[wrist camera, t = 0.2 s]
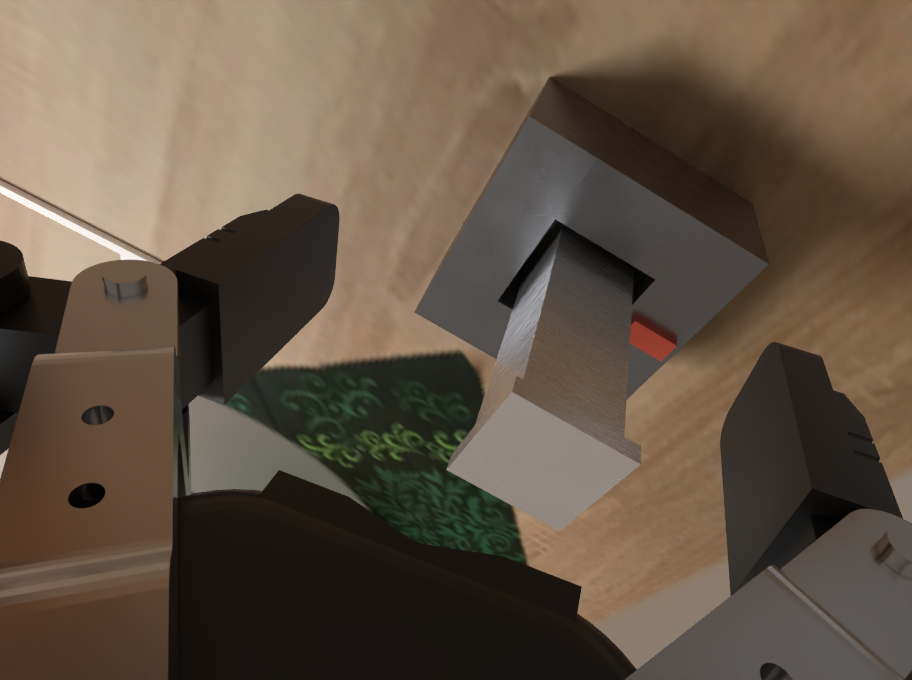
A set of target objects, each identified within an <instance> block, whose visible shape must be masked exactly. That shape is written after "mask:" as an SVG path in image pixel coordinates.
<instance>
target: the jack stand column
mask: <svg viewBox="0 0 912 680" xmlns="http://www.w3.org/2000/svg"><path fill="white" fill-rule="evenodd" d="M529 256H530V257H529V260H528V264H527V267H526V270H525V273H524V276H523V279H522V282H521V285H520V288H519V291H518V294H517V298H516V301H515V304H514V307H513V310H512V313H511V316H510V319H509V322H508V325H507V328H506V332H505V335H504V338H503V341H502V344H501V347H500V350H499V353H498V356H497V359H496V362H495V366H494V369H493V372H492V375H491V378H490V381H489V384H488V387H487V390H486V393H485V396H484V400H483V403H482V406H481V409H480V412H479V415H478V418H477V421H476V424H475V426H474V428H473V429H472V430H471V431H470V432H469V434H468V435H467V436H466V437H465V438H464V440H463V441H462V442H461V443H460V445H459V446H458V447H457V448H456V449H455V451H454V452H453V453H452V455H451V458H450V461H449V464H448V467H447V470H448V471H450V472H452V473H453V474H455V475H457V476H459V477H461V478H463V479H464V480H466V481H468V482H470V483H472V484H474V485H475V486H477V487H479V488H481V489H483V490H485V491H486V492H488V493H490V494H492V495H494V496H496V497H497V498H499V499H501V500H503V501H505V502H507V503H509V504H510V505H512V506H514V507H516V508H518V509H520V510H521V511H523V512H525V513H527V514H529V515H531V516H532V517H534V518H536V519H538V520H540V521H542V522H543V523H545V524H547V525H549V526H551V527H553V528H554V529H556V530H558V531H560V530H561V529H563V528H564V527H565V526H566V525H567V524H569V523H570V522H571V521H572V520H574V519H575V518H576V517H577V516H578V515H580V514H581V513H582V512H583V511H584V510H586V509H587V508H588V507H589V506H591V505H592V504H593V503H594V502H595V501H597V500H598V499H599V498H600V497H602V496H603V495H604V494H605V493H606V492H608V491H609V490H610V489H611V488H613V487H614V486H615V485H616V484H617V483H619V482H620V481H621V480H622V479H623V478H625V477H626V476H627V475H628V474H630V473H631V472H632V471H633V470H634V469H636V468H637V467H638V466H639V465H641V446H640V445H638V444H636V443H634V442H633V441H631V440H629V439H627V438H625V437H624V431H625V414H626V397H627V380H628V363H629V346H630V329H631V313H632V296H633V279H634V266H632V265H630V264H629V263H627V262H625V261H624V260H622V259H620V258H619V257H617V256H615V255H614V254H612V253H610V252H609V251H607V250H605V249H604V248H602V247H600V246H599V245H597V244H595V243H594V242H592V241H590V240H589V239H587V238H585V237H584V236H582V235H581V234H579V233H577V232H576V231H574V230H572V229H571V228H569V227H567V226H566V225H564V224H562V223H561V222H559V221H557V220H556V219H555V220H554V221H553V223H552V224H551V226H550V227H549V228H548V230H547V231H546V233H545V234H544V235H543V237H542V238H541V240H540V241H539V243H538V244H537V245H536V247H535V248H534V250H533V251H532V253H531V254H530V255H529Z"/></svg>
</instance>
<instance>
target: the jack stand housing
mask: <svg viewBox="0 0 912 680" xmlns="http://www.w3.org/2000/svg"><path fill="white" fill-rule="evenodd" d="M555 219H556V220H557V221H559V222H561V223H562V224H564V225H566V226H567V227H569V228H571V229H572V230H574V231H576V232H577V233H579V234H581V235H582V236H584V237H585V238H587V239H589V240H590V241H592V242H594V243H595V244H597V245H599V246H600V247H602V248H604V249H605V250H607V251H609V252H610V253H612V254H614V255H615V256H617V257H619V258H620V259H622V260H624V261H625V262H627V263H629V264H630V265H632V266H634V279H633V296H632V313H631V329H630V346H629V363H628V380H627V397H626V400H627V399H628V398H629V397H630V396H631V395H632V394H633V393H634V392H635V391H636V390H637V389H638V388H639V387H640V386H641V385H642V384H644V383H645V382H646V381H647V380H648V379H649V378H650V377H651V376H652V375H653V374H654V373H655V372H656V371H657V370H658V369H659V368H660V367H661V366H662V365H664V364H665V363H666V362H667V361H668V360H669V359H670V358H671V357H672V356H673V355H674V354H675V353H676V352H677V351H678V350H679V349H680V348H681V347H683V346H684V345H685V344H686V343H687V342H688V341H689V340H690V339H691V338H692V337H693V336H694V335H695V334H696V333H697V332H698V331H699V330H700V329H701V328H703V327H704V326H705V325H706V324H707V323H708V322H709V321H710V320H711V319H712V318H713V317H714V316H715V315H716V314H717V313H718V312H719V311H720V310H722V309H723V308H724V307H725V306H726V305H727V304H728V303H729V302H730V301H731V300H732V299H733V298H734V297H735V296H736V295H737V294H738V293H739V292H740V291H742V290H743V289H744V288H745V287H746V286H747V285H748V284H749V283H750V282H751V281H752V280H753V279H754V278H755V277H756V276H757V275H758V274H759V273H761V272H762V271H763V270H764V269H765V268H766V267H767V266H768V265H769V262H768V258H767V255H766V251H765V247H764V244H763V240H762V236H761V233H760V229H759V225H758V222H757V218H756V215H755V211H754V207H753V205H752V204H751V203H749V202H748V201H746V200H745V199H743V198H741V197H740V196H738V195H737V194H735V193H733V192H732V191H730V190H729V189H727V188H725V187H724V186H722V185H721V184H719V183H717V182H716V181H714V180H713V179H711V178H709V177H708V176H706V175H705V174H703V173H701V172H700V171H698V170H697V169H695V168H694V167H692V166H690V165H689V164H687V163H686V162H684V161H682V160H681V159H679V158H678V157H676V156H674V155H673V154H671V153H670V152H668V151H666V150H665V149H663V148H662V147H660V146H658V145H657V144H655V143H654V142H652V141H651V140H649V139H647V138H646V137H644V136H643V135H641V134H639V133H638V132H636V131H635V130H633V129H631V128H630V127H628V126H627V125H625V124H623V123H622V122H620V121H619V120H617V119H615V118H614V117H612V116H611V115H609V114H607V113H606V112H604V111H603V110H601V109H600V108H598V107H596V106H595V105H593V104H592V103H590V102H588V101H587V100H585V99H584V98H582V97H580V96H579V95H577V94H576V93H574V92H572V91H571V90H569V89H568V88H566V87H564V86H563V85H561V84H560V83H558V82H556V81H555V80H553V79H552V78H550V77H549V79H548V80H547V82H546V84H545V85H544V87H543V89H542V91H541V92H540V94H539V96H538V97H537V99H536V101H535V103H534V104H533V106H532V108H531V109H530V111H529V113H528V114H527V116H526V118H525V120H524V121H523V123H522V125H521V126H520V128H519V130H518V132H517V133H516V135H515V137H514V138H513V140H512V142H511V144H510V145H509V147H508V149H507V150H506V152H505V154H504V155H503V157H502V159H501V161H500V162H499V164H498V166H497V167H496V169H495V171H494V173H493V174H492V176H491V178H490V179H489V181H488V183H487V185H486V186H485V188H484V190H483V191H482V193H481V195H480V196H479V198H478V200H477V202H476V203H475V205H474V207H473V208H472V210H471V212H470V214H469V215H468V217H467V219H466V220H465V222H464V224H463V226H462V227H461V229H460V231H459V232H458V234H457V236H456V237H455V239H454V241H453V243H452V244H451V246H450V248H449V249H448V251H447V253H446V255H445V256H444V258H443V260H442V262H441V264H440V266H439V267H438V269H437V271H436V273H435V275H434V277H433V279H432V280H431V282H430V284H429V286H428V288H427V290H426V291H425V293H424V295H423V297H422V299H421V301H420V303H419V304H418V306H417V308H416V310H415V313H417V314H418V315H420V316H422V317H424V318H425V319H427V320H429V321H431V322H432V323H434V324H436V325H438V326H439V327H441V328H443V329H445V330H446V331H448V332H450V333H452V334H453V335H455V336H457V337H459V338H460V339H462V340H464V341H466V342H468V343H469V344H471V345H473V346H475V347H476V348H478V349H480V350H482V351H483V352H485V353H487V354H489V355H490V356H492V357H494V358H496V359H497V356H498V353H499V350H500V347H501V344H502V341H503V338H504V335H505V332H506V328H507V325H508V322H509V319H510V316H511V313H512V310H513V307H514V304H515V301H516V298H517V294H518V291H519V288H520V285H521V282H522V279H523V276H524V273H525V270H526V267H527V264H528V260H529V257H530V256H529V255H530V254H531V253H532V251H533V250H534V248H535V247H536V245H537V244H538V243H539V241H540V240H541V238H542V237H543V235H544V234H545V233H546V231H547V230H548V228H549V227H550V226H551V224H552V223H553V221H554V220H555Z"/></svg>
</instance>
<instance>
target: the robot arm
mask: <svg viewBox="0 0 912 680" xmlns="http://www.w3.org/2000/svg"><path fill="white" fill-rule="evenodd" d="M338 230H339V211H338V208H337V206H336V205H334V204H331V203H327V202H324V201H321V200H318V199H315V198H311V197H308V196H305V195H302V194H295V195H293V196H292V197H290V198H289V199H287V200H285V201H284V202H282V203H281V204H279V205H277V206H276V207H274V208H273V209H271V210H269V211H268V210H263V211H259V212H255V213H251V214H247V215H243V216H240V217H238V218H236V219H235V220H233V221H231V222H230V223H228V224H226V225H225V226H223V227H222V229H221V230H219V229H218V230H216V231H214V232H213V233H211V234H209V235H208V236H207V238H206V239H204V238H203V239H201V240H199V241H198V242H196V243H194V244H193V245H191V246H189V247H188V248H186V249H184V250H183V251H181V252H179V253H178V254H176V255H174V256H173V257H171V258H169V259H168V260H166V261H164V262H162V263H161V264H157V263H154V262H149V261H143V260H116V261H109V262H104V263H100V264H97V265H94V266H92V267H89V268H87V269H85V270H84V271H82V272H80V273H79V274H78V275H77V276H76V277H75V278H74V279H73V281H72V282H70V281H62V280H54V279H46V278H38V277H30V276H28V275H27V270H26V266H25V262H24V258H23V254H22V253H21V251H20V250H19V249H18V248H17V247H15V246H14V245H12V244H9V243H7V242H3V241H0V455H1V454H2V453H3V452H5V451H6V450H7V449H8V448H9V450H8V453H7V457H6V460H5V464H4V468H3V471H2V475H1V479H0V680H912V523H910V522H908V521H906V520H904V519H903V518H902V515H901V512H900V510H899V507H898V504H897V502H896V499H895V496H894V494H893V491H892V488H891V486H890V483H889V481H888V478H887V475H886V473H885V470H884V468H883V465H882V463H879V460H880V457H879V454H878V452H877V449H876V447H875V444H872V441H873V439H872V436H871V433H870V431H869V428H868V426H867V423H866V420H865V418H864V416H863V415H862V414H861V413H860V412H859V411H858V410H857V408H856V407H855V406H854V405H853V404H852V403H851V401H850V400H849V399H848V398H847V397H846V396H845V395H844V394H843V393H840V392H836V391H833V389H832V386H831V383H830V380H829V377H828V374H827V371H826V368H825V365H824V362H823V359H822V357H821V356H819V355H816V354H812V353H809V352H806V351H803V350H799V349H796V348H793V347H790V346H787V345H783V344H780V343H777V342H772V343H771V344H769V345H768V346H767V347H766V349H765V350H764V351H763V353H762V355H761V356H760V358H759V360H758V361H757V363H756V365H755V367H754V368H753V370H752V372H751V374H750V375H749V377H748V379H747V380H746V382H745V384H744V386H743V387H742V389H741V391H740V393H739V394H738V396H737V398H736V400H735V401H734V403H733V405H732V406H731V408H730V410H729V412H728V414H727V417H726V419H725V422H724V425H723V429H722V433H721V440H720V447H721V462H722V476H723V491H724V505H725V520H726V534H727V548H728V563H729V577H730V592H731V596H730V597H729V598H728V599H727V600H725V601H724V602H723V603H722V604H720V605H719V606H718V607H716V608H715V609H714V610H713V611H711V612H710V613H709V614H708V615H706V616H705V617H704V618H702V619H701V620H700V621H699V622H697V623H696V624H695V625H693V626H692V627H691V628H690V629H688V630H687V631H686V632H685V633H683V634H682V635H681V636H679V637H678V638H677V639H676V640H675V641H673V642H672V643H671V644H669V645H668V646H667V647H666V648H664V649H663V650H662V651H660V652H659V653H658V654H657V655H655V656H654V657H653V658H652V659H650V660H649V661H648V662H646V663H645V664H644V665H643V666H641V667H640V668H639V669H636V668H635V667H634V666H633V665H632V663H631V662H630V661H629V660H628V658H627V657H626V656H625V655H624V654H623V653H622V651H621V650H620V649H619V648H618V647H617V646H616V645H615V644H614V643H613V642H612V641H611V640H610V639H609V638H608V637H607V636H606V635H604V634H603V633H602V632H601V631H600V630H598V629H597V628H596V627H595V626H594V625H592V624H591V623H590V622H589V621H587V620H586V619H584V618H583V617H582V616H580V615H579V614H577V611H578V605H579V599H580V593H581V586H578V585H576V584H573V583H571V582H568V581H565V580H563V579H560V578H558V577H555V576H552V575H550V574H547V573H545V572H542V571H539V570H537V569H534V568H532V567H529V566H526V565H524V564H521V563H519V562H516V561H513V560H511V559H508V558H506V557H503V556H497V555H491V554H484V553H478V552H471V551H464V550H458V549H451V548H445V547H438V546H432V545H425V544H421V543H418V542H415V541H413V540H412V539H410V538H408V537H407V536H405V535H404V534H402V533H401V532H399V531H398V530H397V529H395V528H394V527H392V526H391V525H389V524H388V523H386V522H385V521H383V520H382V519H380V518H379V517H377V516H376V515H375V514H373V513H372V512H370V511H369V510H367V509H366V508H364V507H363V506H361V505H360V504H358V503H357V502H355V501H354V500H352V499H351V498H350V497H347V496H345V495H342V494H340V493H337V492H334V491H332V490H329V489H327V488H324V487H322V486H319V485H316V484H314V483H311V482H308V481H306V480H303V479H301V478H298V477H296V476H293V475H290V474H288V473H285V472H282V471H280V470H279V471H278V472H277V473H276V475H275V476H274V477H273V479H272V480H271V481H270V482H269V484H268V485H267V486H266V487H265V489H264V490H263V491H258V490H241V489H238V490H237V489H231V490H214V491H208V492H201V493H195V494H191V467H190V466H191V465H190V464H191V463H190V419H189V418H190V417H189V406H188V404H189V403H190V402H191V401H192V400H193V399H194V398H195V397H197V396H198V395H199V396H201V397H204V398H207V399H209V400H212V401H215V402H217V403H220V404H223V405H225V404H226V403H227V402H228V401H229V400H230V399H231V398H232V397H233V396H234V395H235V394H236V393H237V392H238V391H239V390H240V389H241V388H242V387H243V386H244V385H245V384H246V383H247V382H248V381H249V380H250V379H251V378H252V377H253V376H254V375H255V374H256V373H257V372H258V371H259V370H260V369H261V368H262V367H263V366H264V365H265V364H266V363H267V362H268V361H269V360H270V359H272V358H273V357H274V356H275V355H276V354H277V353H278V352H279V351H280V350H281V349H282V348H283V347H284V346H285V345H286V344H287V343H288V342H289V341H290V340H291V339H292V338H293V337H294V336H295V335H296V334H297V333H298V332H299V331H300V330H301V329H302V328H303V327H304V326H305V325H306V324H307V323H308V322H309V321H310V320H311V319H312V318H313V317H314V316H315V315H316V314H317V313H318V312H319V311H320V310H321V309H322V308H323V307H324V306H325V304H326V303H327V301H328V299H329V297H330V294H331V292H332V289H333V285H334V280H335V269H336V256H337V243H338Z"/></svg>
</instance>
